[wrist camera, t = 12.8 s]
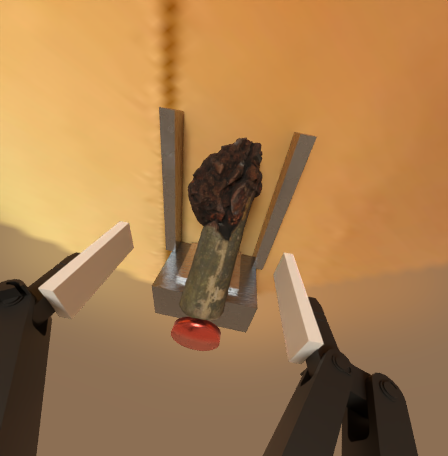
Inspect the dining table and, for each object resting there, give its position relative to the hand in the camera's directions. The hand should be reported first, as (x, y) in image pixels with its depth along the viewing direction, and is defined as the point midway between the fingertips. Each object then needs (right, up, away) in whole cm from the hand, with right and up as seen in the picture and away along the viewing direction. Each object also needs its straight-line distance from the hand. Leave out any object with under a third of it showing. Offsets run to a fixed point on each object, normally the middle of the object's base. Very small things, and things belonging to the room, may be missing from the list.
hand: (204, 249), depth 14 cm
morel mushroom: (+1, +2, +6) cm, 6 cm away
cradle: (+1, +3, +10) cm, 11 cm away
